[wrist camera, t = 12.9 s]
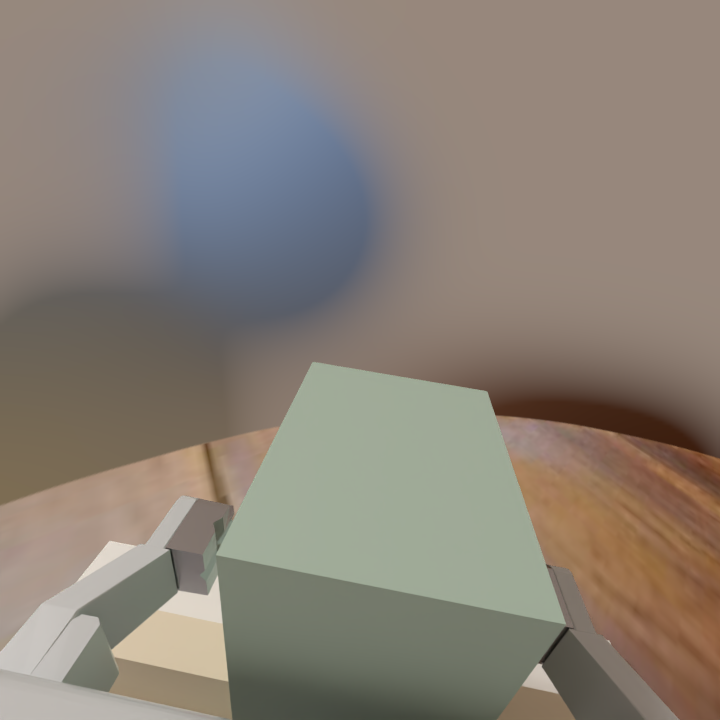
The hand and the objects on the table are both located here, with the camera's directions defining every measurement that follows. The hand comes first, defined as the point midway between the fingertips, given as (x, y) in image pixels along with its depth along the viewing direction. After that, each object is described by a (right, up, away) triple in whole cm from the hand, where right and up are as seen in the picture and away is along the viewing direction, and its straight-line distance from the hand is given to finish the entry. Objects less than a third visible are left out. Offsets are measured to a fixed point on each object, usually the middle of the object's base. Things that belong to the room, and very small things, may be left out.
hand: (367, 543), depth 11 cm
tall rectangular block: (-1, -9, +4) cm, 10 cm away
